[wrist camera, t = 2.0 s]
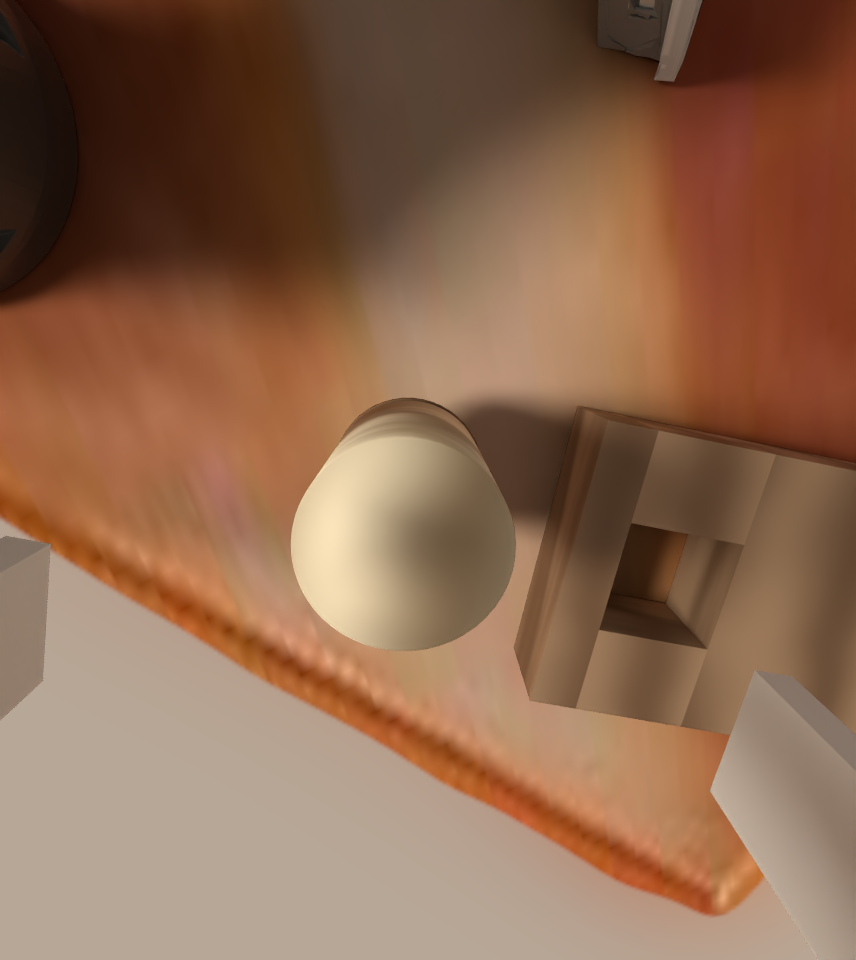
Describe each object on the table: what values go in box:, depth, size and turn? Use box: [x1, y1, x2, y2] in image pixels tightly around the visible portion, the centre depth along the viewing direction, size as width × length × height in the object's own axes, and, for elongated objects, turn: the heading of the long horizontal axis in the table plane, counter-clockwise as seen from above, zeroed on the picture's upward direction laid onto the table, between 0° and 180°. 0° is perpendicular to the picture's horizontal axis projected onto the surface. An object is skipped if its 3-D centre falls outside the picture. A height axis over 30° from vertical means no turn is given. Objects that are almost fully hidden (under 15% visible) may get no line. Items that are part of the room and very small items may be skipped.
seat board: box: [514, 406, 856, 735], centre depth 31 cm, size 18×14×5 cm
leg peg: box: [291, 398, 516, 651], centre depth 24 cm, size 6×6×14 cm
